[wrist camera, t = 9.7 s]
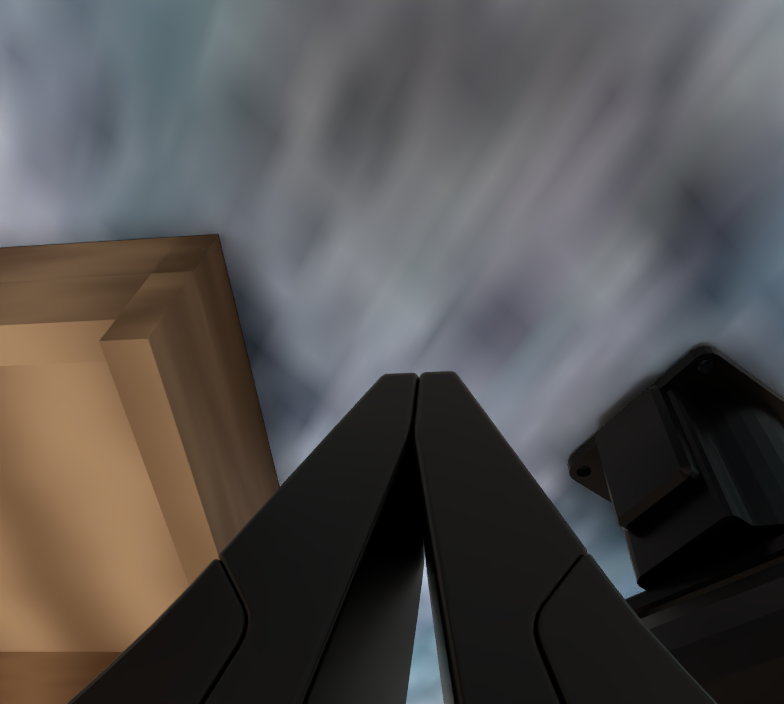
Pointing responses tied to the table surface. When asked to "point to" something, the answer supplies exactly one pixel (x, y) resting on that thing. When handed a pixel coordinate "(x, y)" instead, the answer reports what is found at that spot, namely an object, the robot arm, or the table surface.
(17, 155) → the table surface
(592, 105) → the table surface
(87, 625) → the brown shallow open box
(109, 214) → the table surface
